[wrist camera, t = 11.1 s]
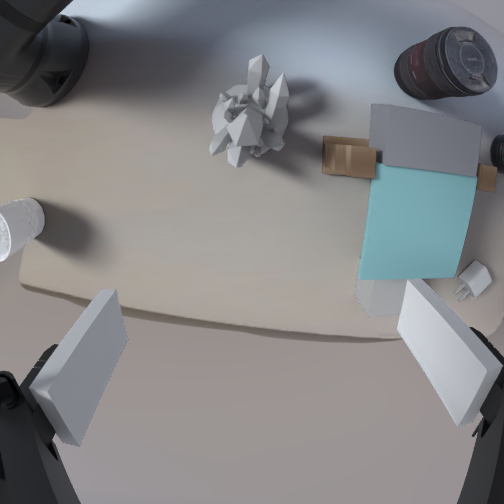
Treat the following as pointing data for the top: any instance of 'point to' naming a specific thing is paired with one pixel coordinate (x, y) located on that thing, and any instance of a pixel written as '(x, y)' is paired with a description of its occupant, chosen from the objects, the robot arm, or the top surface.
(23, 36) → the robot arm
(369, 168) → the stand
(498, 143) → the supplement bottle
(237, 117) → the crystal
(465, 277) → the usb wall charger
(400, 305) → the plain grey cube
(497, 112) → the top surface
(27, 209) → the white cup
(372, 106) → the trapdoor
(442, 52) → the camera lens
